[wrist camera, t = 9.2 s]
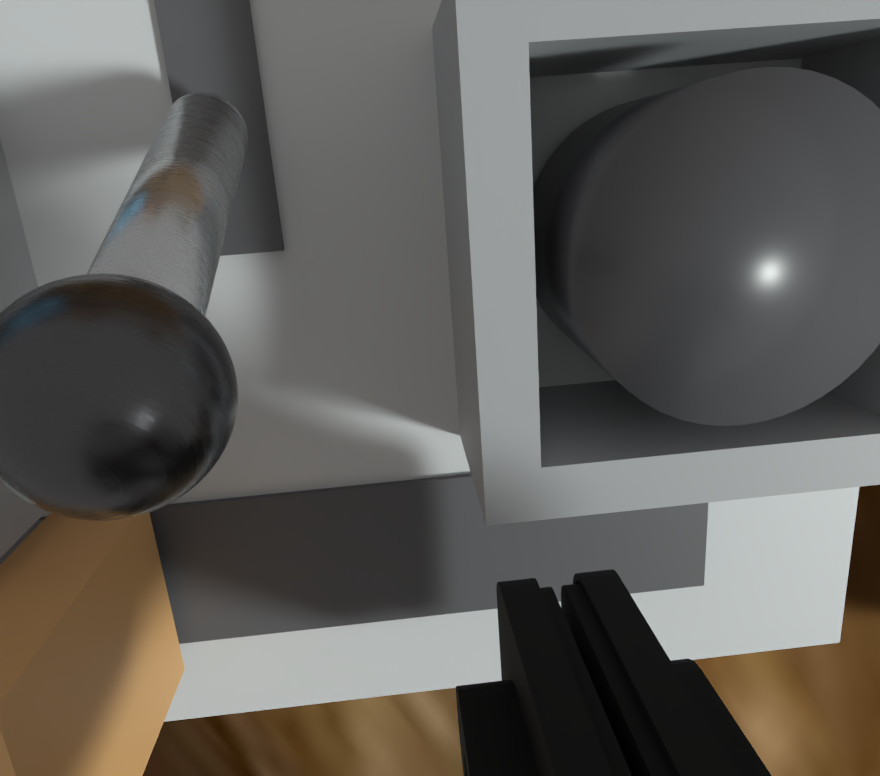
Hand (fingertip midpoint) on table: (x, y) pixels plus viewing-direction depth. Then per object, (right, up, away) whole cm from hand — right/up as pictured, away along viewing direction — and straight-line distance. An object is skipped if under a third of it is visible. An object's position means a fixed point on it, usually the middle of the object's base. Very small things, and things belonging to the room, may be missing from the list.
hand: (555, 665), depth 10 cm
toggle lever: (-5, +7, -1) cm, 9 cm away
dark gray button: (+2, +6, 0) cm, 6 cm away
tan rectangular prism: (-7, +1, +2) cm, 7 cm away
